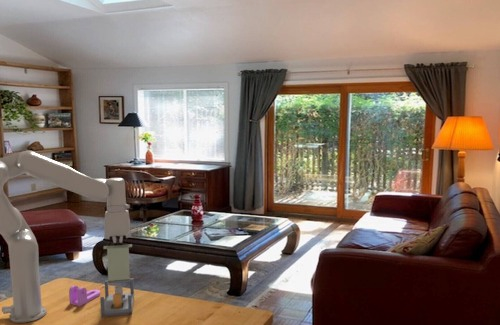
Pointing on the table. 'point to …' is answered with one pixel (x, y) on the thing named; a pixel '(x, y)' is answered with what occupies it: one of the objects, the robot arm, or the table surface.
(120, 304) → the tan capsule cylinder
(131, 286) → the housing
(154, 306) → the table surface
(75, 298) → the bracket
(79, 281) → the table surface
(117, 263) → the lid
